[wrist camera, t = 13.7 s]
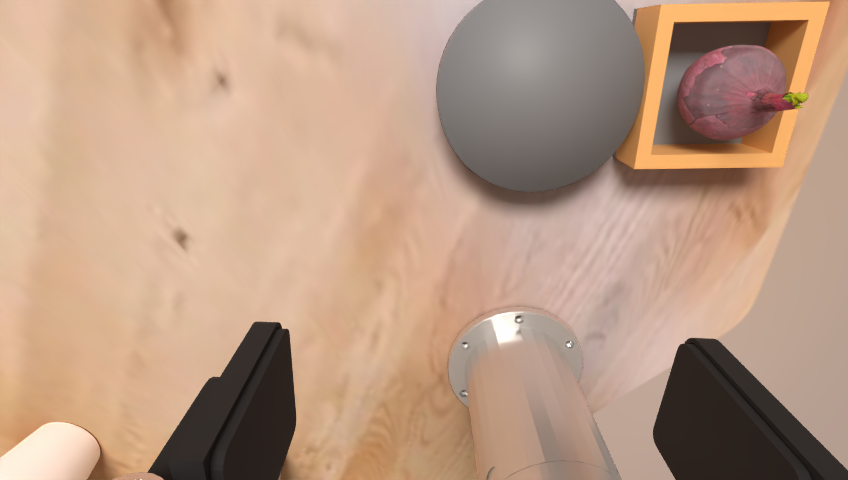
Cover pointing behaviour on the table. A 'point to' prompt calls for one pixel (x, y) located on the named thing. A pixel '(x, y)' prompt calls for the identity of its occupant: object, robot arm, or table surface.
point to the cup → (52, 454)
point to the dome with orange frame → (605, 86)
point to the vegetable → (734, 91)
